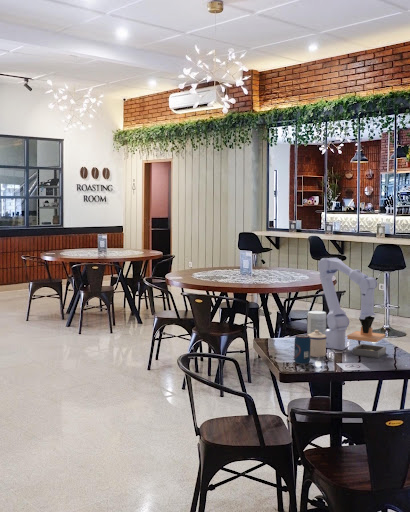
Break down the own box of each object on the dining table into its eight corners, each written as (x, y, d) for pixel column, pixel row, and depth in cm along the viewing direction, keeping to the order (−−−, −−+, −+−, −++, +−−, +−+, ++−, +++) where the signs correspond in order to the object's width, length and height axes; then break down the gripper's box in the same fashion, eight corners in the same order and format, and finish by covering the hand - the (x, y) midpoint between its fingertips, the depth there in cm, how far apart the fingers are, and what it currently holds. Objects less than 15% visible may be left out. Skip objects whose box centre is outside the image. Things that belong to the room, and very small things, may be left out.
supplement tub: (329, 341, 326) (330, 312, 325) (316, 343, 321) (316, 314, 320) (316, 338, 334) (317, 310, 333) (303, 339, 329) (303, 311, 328)
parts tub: (352, 354, 297) (352, 348, 297) (360, 350, 307) (361, 343, 307) (378, 358, 290) (378, 351, 290) (385, 353, 301) (386, 347, 300)
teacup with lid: (326, 353, 298) (327, 328, 298) (325, 358, 290) (326, 332, 289) (300, 351, 301) (301, 327, 301) (298, 356, 293) (299, 330, 292)
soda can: (291, 361, 282) (291, 334, 281) (305, 360, 285) (305, 333, 284) (298, 365, 276) (299, 337, 275) (313, 363, 278) (313, 336, 277)
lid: (347, 339, 294) (347, 328, 294) (356, 334, 306) (356, 323, 305) (376, 342, 287) (376, 331, 287) (385, 337, 299) (385, 326, 298)
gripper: (371, 306, 287) (370, 336, 288) (380, 302, 299) (379, 331, 300) (355, 304, 290) (354, 334, 291) (365, 301, 303) (364, 329, 304)
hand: (366, 332), depth 296 cm, fingers closed on lid
